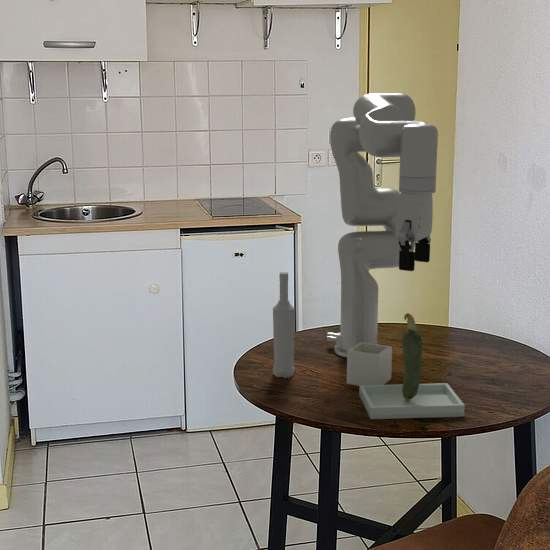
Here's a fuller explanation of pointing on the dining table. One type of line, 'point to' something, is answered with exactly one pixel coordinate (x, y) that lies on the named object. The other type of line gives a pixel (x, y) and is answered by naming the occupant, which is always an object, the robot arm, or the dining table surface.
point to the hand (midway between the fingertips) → (414, 265)
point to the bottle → (283, 332)
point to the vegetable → (411, 359)
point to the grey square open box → (369, 364)
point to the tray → (411, 401)
